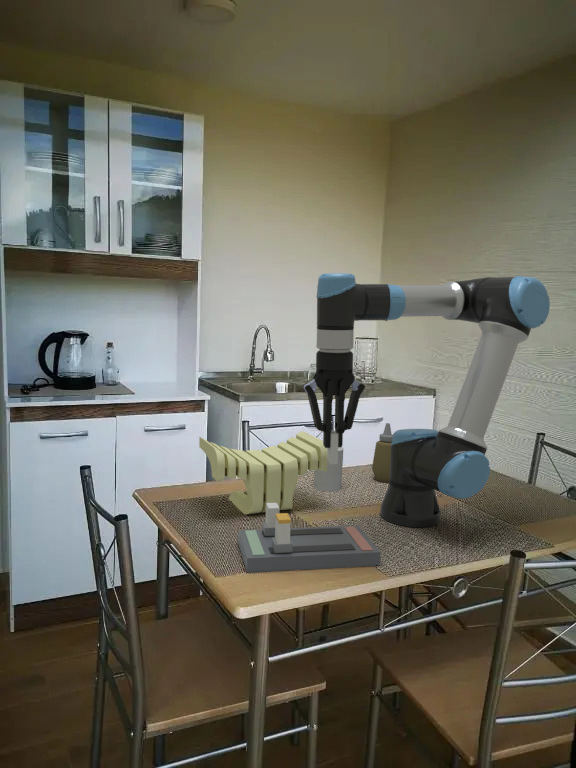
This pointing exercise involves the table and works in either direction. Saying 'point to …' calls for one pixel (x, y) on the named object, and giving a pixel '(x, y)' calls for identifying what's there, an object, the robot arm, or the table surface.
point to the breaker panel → (306, 547)
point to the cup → (330, 475)
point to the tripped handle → (282, 534)
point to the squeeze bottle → (383, 456)
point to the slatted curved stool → (267, 470)
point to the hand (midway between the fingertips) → (332, 462)
